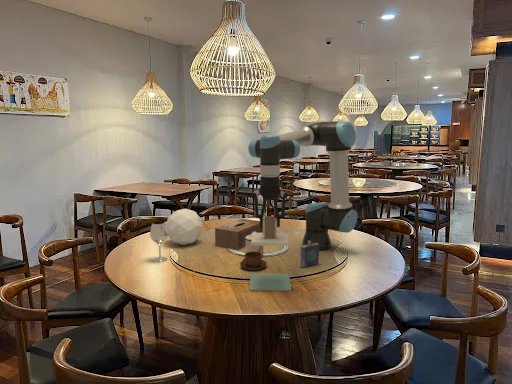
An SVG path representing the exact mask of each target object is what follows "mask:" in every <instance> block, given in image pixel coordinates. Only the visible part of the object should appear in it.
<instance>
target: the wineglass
mask: <svg viewBox="0 0 512 384" xmlns="http://www.w3.org/2000/svg"><path fill="white" fill-rule="evenodd" d="M149 237H150V239H151V240H152V241H153V242H154V243H156V244H157V245H158V256H157V257H155V258H153V260H152V261H153V262H155V263H163V262H166V261H167V260H168V257H165V256H162V253H161V252H162V250H161V245H162V244H163V242H165V241H166V240H167V239H168V237H169V236H168V231H167V228H166V222H165V221H153V222H152V223H151V227H150V232H149Z"/></svg>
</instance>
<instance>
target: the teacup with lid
mask: <svg viewBox="0 0 512 384" xmlns="http://www.w3.org/2000/svg"><path fill="white" fill-rule="evenodd" d="M253 233H256V232H252V234H253ZM252 234H250V235H248V236H246V237H245V239H246V247H245V254H246V253H247V252H260V253H261V254H262V256H261V257H263V255H264V245H251V242H252Z"/></svg>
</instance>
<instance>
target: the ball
mask: <svg viewBox="0 0 512 384" xmlns="http://www.w3.org/2000/svg"><path fill="white" fill-rule="evenodd" d="M165 225H166V228H167V231H168V236H167V237H169V239H170V240H171V241H172V242H173V243H175V244H178V245H180V246H186V245H190V244H193V243H194V242H196V241H197V240H198V239H199V238H200V237H201V233H202V229H203V223H202V219H201V217H200V216H199V214H197V212H196V211H194V210H191V209H188V208H183V209H179V210H178V209H177V210H175V211H174V212H173V213H171V214H170V215H169V216H168V217H167V220H166V222H165Z"/></svg>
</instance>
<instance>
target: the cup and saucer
mask: <svg viewBox="0 0 512 384" xmlns="http://www.w3.org/2000/svg"><path fill="white" fill-rule="evenodd" d="M262 257H263V256H262V254H261V253H260V252H247V253H246V252H245V253H244V258H243V259H242V260H241V261H240V262H239V265H240V267H241V268H243V269H245V270H250V271H256V270H262V269H264V268H266V266H267V264H268V263H267V261H266V260H263V259H262Z"/></svg>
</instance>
